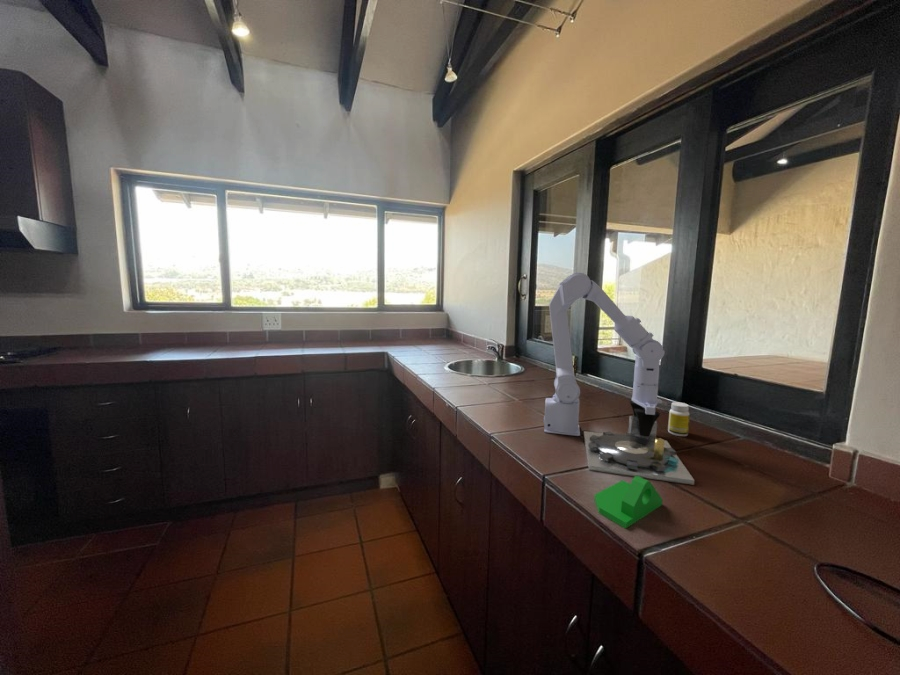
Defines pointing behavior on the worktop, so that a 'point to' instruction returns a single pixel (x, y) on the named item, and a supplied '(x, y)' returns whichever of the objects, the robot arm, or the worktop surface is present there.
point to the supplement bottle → (679, 419)
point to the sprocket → (633, 450)
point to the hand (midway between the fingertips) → (642, 431)
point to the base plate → (671, 473)
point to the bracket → (628, 501)
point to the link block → (635, 428)
